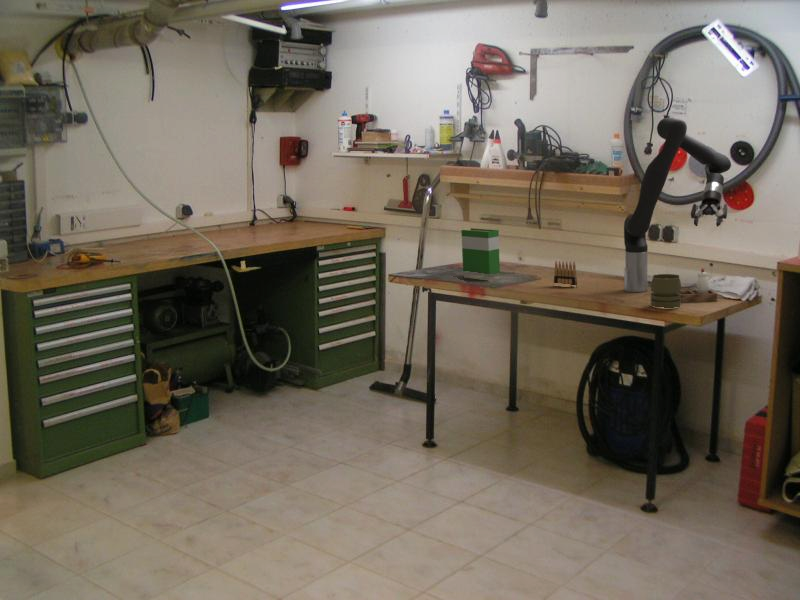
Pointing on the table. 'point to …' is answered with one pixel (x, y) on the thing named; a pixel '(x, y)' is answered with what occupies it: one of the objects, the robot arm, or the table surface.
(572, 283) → the ammunition clip
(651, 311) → the table surface
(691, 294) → the wooden compartment tray
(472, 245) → the green box
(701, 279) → the glue bottle
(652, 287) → the olive green pot
